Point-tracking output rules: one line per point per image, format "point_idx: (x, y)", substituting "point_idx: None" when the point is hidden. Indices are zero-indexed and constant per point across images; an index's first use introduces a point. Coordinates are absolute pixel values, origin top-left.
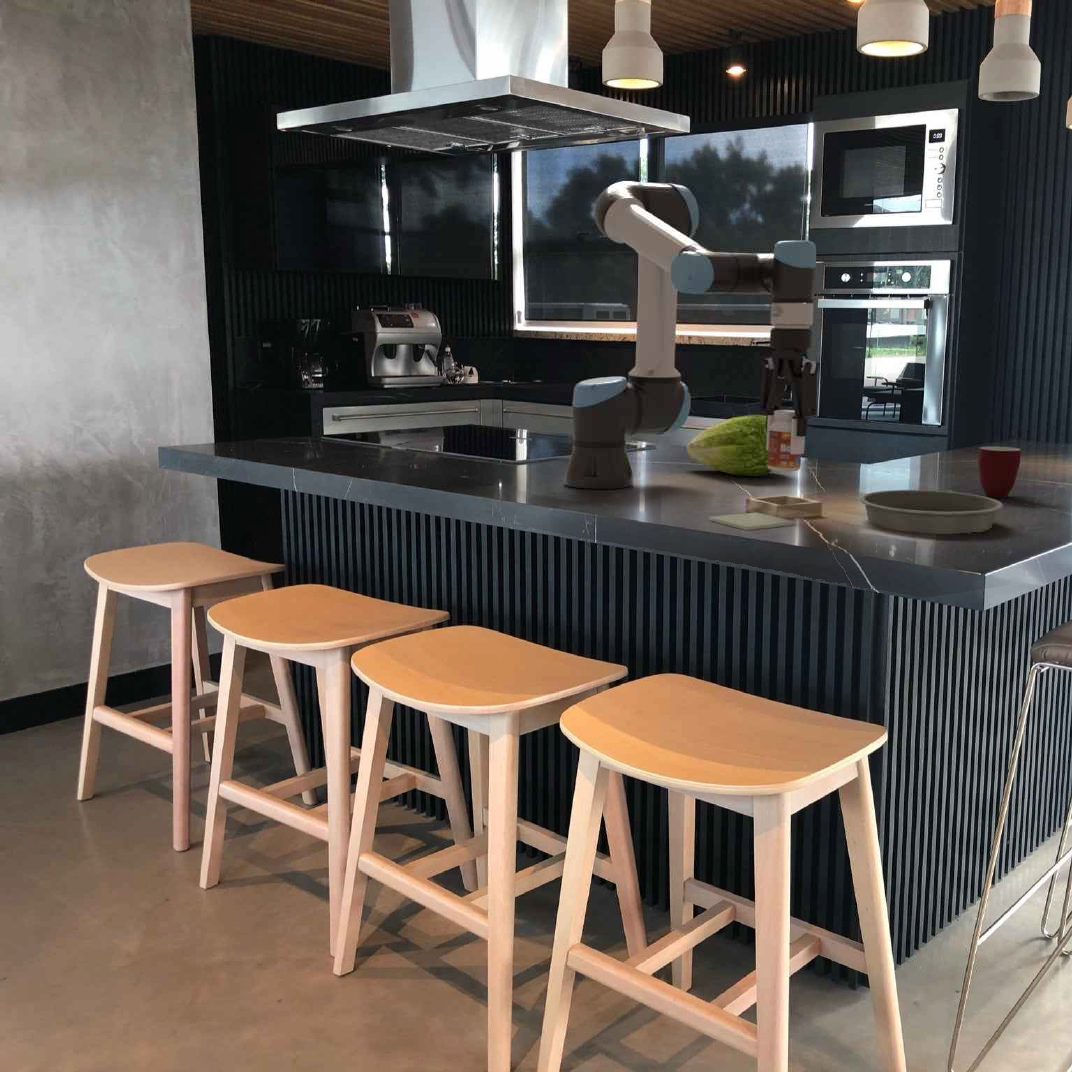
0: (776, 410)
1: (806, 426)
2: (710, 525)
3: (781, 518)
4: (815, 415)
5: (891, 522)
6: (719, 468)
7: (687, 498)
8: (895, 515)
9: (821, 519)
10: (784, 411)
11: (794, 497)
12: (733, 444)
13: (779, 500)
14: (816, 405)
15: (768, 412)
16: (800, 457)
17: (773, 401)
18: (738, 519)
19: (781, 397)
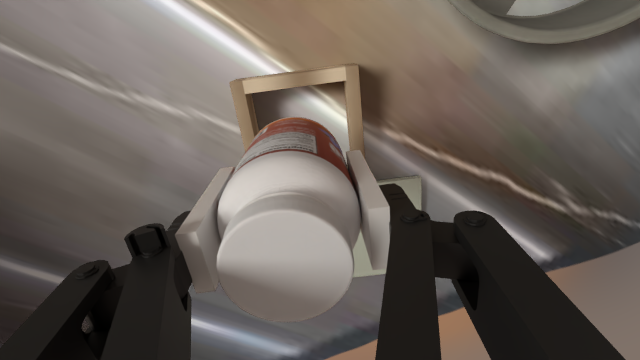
0: (248, 305)
1: (410, 204)
2: (360, 291)
3: (383, 183)
4: (478, 212)
5: (566, 17)
6: None
7: (79, 214)
8: (594, 17)
9: (393, 93)
10: (306, 294)
11: (272, 88)
12: None
13: (251, 113)
14: (517, 245)
15: (190, 301)
16: (335, 143)
17: (187, 340)
18: (360, 252)
19: (165, 316)
